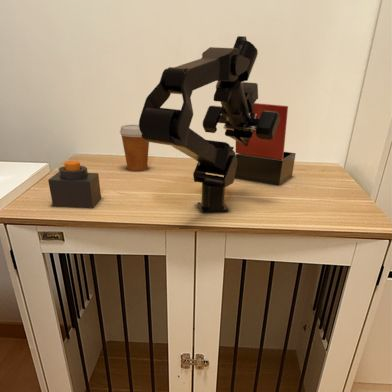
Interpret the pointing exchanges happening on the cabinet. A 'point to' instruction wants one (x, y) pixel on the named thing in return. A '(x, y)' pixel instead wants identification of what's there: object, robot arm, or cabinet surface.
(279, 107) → the red rectangular panel
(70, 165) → the button
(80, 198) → the control box
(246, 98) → the robot arm
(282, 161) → the dark brown box
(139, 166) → the disposable coffee cup
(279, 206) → the cabinet surface
